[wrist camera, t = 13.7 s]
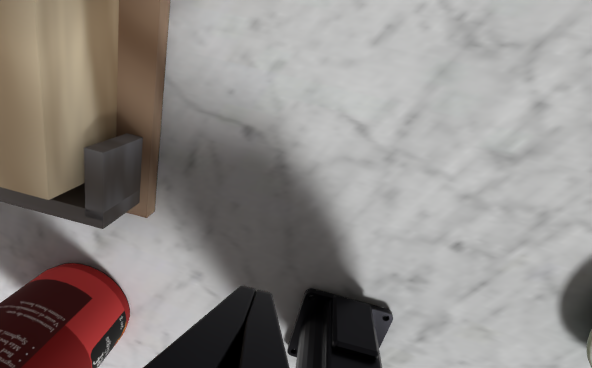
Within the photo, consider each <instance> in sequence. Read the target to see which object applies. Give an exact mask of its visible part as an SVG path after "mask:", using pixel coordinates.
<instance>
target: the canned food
mask: <svg viewBox="0 0 592 368" xmlns="http://www.w3.org/2000/svg"><path fill="white" fill-rule="evenodd" d="M129 317H130V309H129V305H128V301H127V299H126V297H125V295H124V293H123V292H122V290H121V289H120V287H119V286H118V285H117V284H116V283H115V282H114V281H113V280H112V279H111V278H109V277H108V276H107V275H105V274H104V273H102V272H100V271H99V270H97V269H94V268H92V267H90V266H86V265H83V264H76V263H68V264H62V265H59V266H56V267H54V268H51V269H48V270H46V271H45V272H43V273H42V274H40V275H39V276H37V277H36V278H35V279H33V280H32V281H30V282H29V283H28V284H26V285H25V286H23V287H22V288H21V289H19V290H18V291H16V292H15V293H14V294H12V295H11V296H9V297H8V298H7V299H5V300H4V301H2V302H1V303H0V368H98V367H99V365H100V364H101V363H102V361H103V360H104V359H105V357H106V356H107V355H108V354H109V352H110V351H111V350H112V348H113V347H114V346H115V344H116V343H117V342H118V340H119V339H120V338H121V337H122V335H123V333H124V332H125V329H126V327H127V324H128V321H129Z"/></svg>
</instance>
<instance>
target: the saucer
mask: <svg viewBox="0 0 592 368" xmlns="http://www.w3.org/2000/svg"><path fill="white" fill-rule="evenodd" d="M587 357H588V360H589V363H590V365H591V367H592V329H591V332H590V334H589V337H588V341H587Z"/></svg>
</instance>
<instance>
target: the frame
mask: <svg viewBox="0 0 592 368" xmlns="http://www.w3.org/2000/svg"><path fill="white" fill-rule="evenodd" d="M169 10H170V0H119V25H118V76H117V126H116V137H114V138H111V139H108V140H105V141H102V142H99V143H96V144H93V145H90V146H87V147H85V148H84V173H85V183H83V184H81V185H79V186H77V187H75V188H73V189H71V190H69V191H67V192H65V193H63V194H61V195H58V196H56V197H54V198H52V199H50V200H47V199H43V198H39V197H35V196H32V195H28V194H24V193H21V192H17V191H13V190H9V189H6V188H2V187H0V201H1V202H5V203H8V204H12V205H16V206H19V207H23V208H27V209H31V210H34V211H38V212H42V213H45V214H49V215H53V216H57V217H60V218H64V219H68V220H71V221H75V222H79V223H83V224H86V225H90V226H94V227H97V228H101V229H104V228H105V227H106V226H108V225H109V224H111V223H112V222H113V221H115V220H116V219H118V218H119V217H120V216H122V215H123V214H125V213H130V214H134V215H138V216H141V217H145V218H147V217H148V216H150V215H151V214H152V213H153V212H154V211H155V199H156V185H157V172H158V158H159V145H160V131H161V118H162V104H163V91H164V77H165V64H166V50H167V37H168V23H169Z"/></svg>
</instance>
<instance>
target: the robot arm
mask: <svg viewBox="0 0 592 368" xmlns="http://www.w3.org/2000/svg"><path fill="white" fill-rule="evenodd" d="M310 295H312V296H314V297H310ZM383 316H387V317H383ZM392 320H393V316H392V312H391V311H390V310H389V309H386V308H382V307H378V306H374V305H371V304H367V303H363V302H360V301H356V300H352V299H348V298H345V297H341V296H337V295H334V294H330V293H326V292H322V291H319V290H315V289H308V290H307V291H306V292H305V295H304V298H303V301H302V304H301V307H300V311H299V314H298V317H297V320H296V323H295V326H294V329H293V332H292V335H291V339H290V342H289V345H288V354H289V355H291V356H294V357H297V360H296V368H382V364H381V358H380V352H379V348H380V345H381V343H382V341H383V339H384V337H385V335H386V333H387V331H388V329H389V327H390V325H391V323H392ZM294 349H295V350H294ZM143 368H289V364H288V360H287V356H286V351H285V347H284V343H283V339H282V334H281V330H280V326H279V322H278V317H277V313H276V309H275V305H274V300H273V296H272V294H271V293H269V292H265V291H261V290H257V291H256V290H255V289H254V288H250V287H247V286H240V287H239V288H237V289H236V290H235V291H234V292H233V293H232V294H230V295H229V296H228V297H227V298H226V299H224V300H223V301H222V302H221V303H220V304H218V305H217V306H216V307H215V308H214V309H212V310H211V311H210V312H209V313H208V314H207V315H205V316H204V317H203V318H202V319H201V320H199V321H198V322H197V323H196V324H195V325H193V326H192V327H191V328H190V329H189V330H187V331H186V332H185V333H184V334H183V335H182V336H180V337H179V338H178V339H177V340H176V341H174V342H173V343H172V344H171V345H170V346H168V347H167V348H166V349H165V350H164V351H162V352H161V353H160V354H159V355H158V356H156V357H155V358H154V359H153V360H152V361H151V362H149V363H148V364H147V365H146V366H145V367H143Z"/></svg>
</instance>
